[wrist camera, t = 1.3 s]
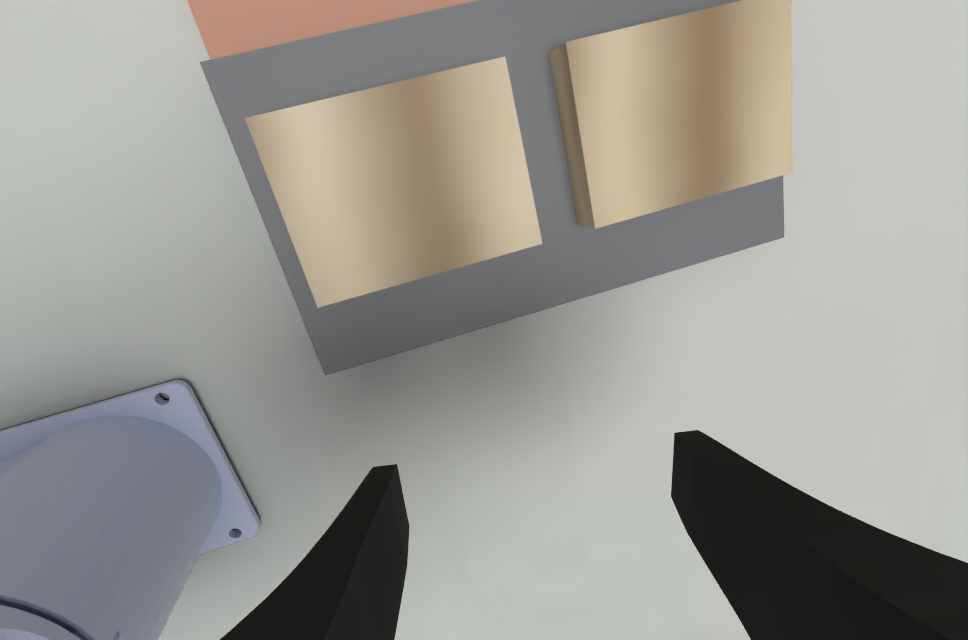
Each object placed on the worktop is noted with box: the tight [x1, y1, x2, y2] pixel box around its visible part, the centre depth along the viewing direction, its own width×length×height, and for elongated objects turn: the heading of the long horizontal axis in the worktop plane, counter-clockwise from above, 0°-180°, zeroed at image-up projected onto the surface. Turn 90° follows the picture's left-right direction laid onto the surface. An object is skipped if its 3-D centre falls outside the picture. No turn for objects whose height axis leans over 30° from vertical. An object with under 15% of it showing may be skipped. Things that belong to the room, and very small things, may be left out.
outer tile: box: [549, 0, 793, 229], centre depth 17 cm, size 8×6×2 cm
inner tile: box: [245, 57, 543, 308], centre depth 16 cm, size 8×6×2 cm
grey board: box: [200, 0, 784, 375], centre depth 18 cm, size 20×11×2 cm, turn 104°
